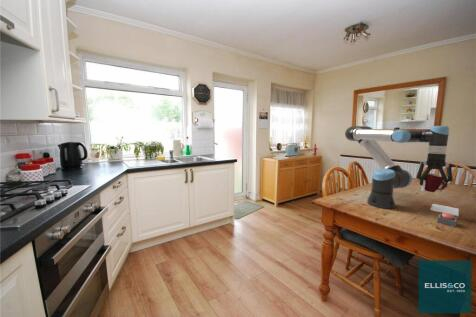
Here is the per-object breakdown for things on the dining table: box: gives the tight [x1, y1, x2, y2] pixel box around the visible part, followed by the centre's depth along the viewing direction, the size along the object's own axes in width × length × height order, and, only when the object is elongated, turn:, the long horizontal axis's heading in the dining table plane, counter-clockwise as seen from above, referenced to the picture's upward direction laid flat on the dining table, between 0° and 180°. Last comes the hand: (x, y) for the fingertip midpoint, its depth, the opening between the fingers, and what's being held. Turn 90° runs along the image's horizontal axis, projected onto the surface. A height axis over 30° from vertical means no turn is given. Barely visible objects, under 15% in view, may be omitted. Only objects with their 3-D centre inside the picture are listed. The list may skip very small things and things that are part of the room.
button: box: [441, 213, 455, 220], centre depth 108 cm, size 4×4×2 cm
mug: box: [424, 172, 446, 193], centre depth 118 cm, size 10×8×10 cm
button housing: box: [436, 213, 458, 228], centre depth 108 cm, size 7×7×3 cm
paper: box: [429, 203, 460, 217], centre depth 127 cm, size 16×12×1 cm
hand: (432, 191), depth 119 cm, fingers closed on mug, 8 cm apart
